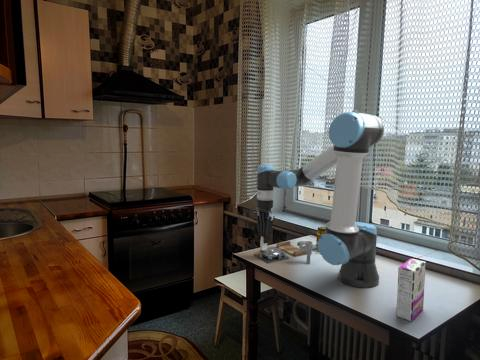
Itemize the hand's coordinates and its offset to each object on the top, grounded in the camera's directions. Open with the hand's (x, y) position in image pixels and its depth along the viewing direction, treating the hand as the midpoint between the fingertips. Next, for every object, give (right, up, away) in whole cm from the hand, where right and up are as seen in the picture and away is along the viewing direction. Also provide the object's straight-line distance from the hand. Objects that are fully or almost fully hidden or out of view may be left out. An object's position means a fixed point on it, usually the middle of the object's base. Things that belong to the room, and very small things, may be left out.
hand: (264, 249), depth 151 cm
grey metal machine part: (+4, -3, +4) cm, 7 cm away
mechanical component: (+20, -6, -4) cm, 21 cm away
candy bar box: (+44, -11, -46) cm, 64 cm away
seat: (+15, -3, +13) cm, 20 cm away
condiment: (+31, -4, +13) cm, 34 cm away
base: (+4, -4, +5) cm, 7 cm away
